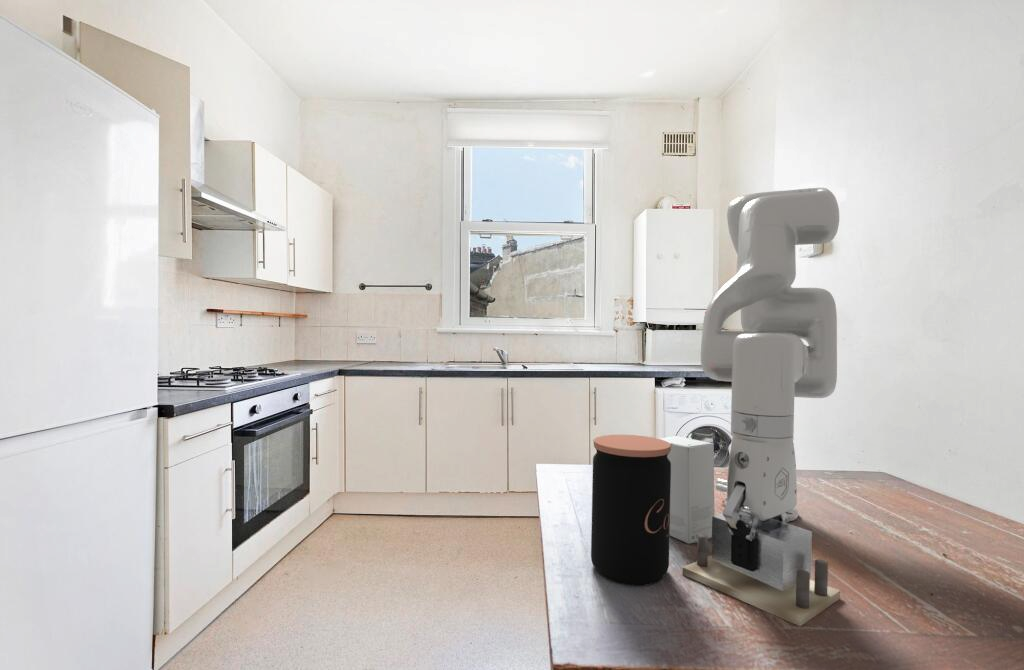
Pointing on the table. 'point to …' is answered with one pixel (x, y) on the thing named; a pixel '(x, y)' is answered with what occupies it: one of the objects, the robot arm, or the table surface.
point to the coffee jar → (631, 508)
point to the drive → (767, 550)
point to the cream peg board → (766, 587)
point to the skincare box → (691, 488)
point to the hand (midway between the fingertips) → (758, 558)
